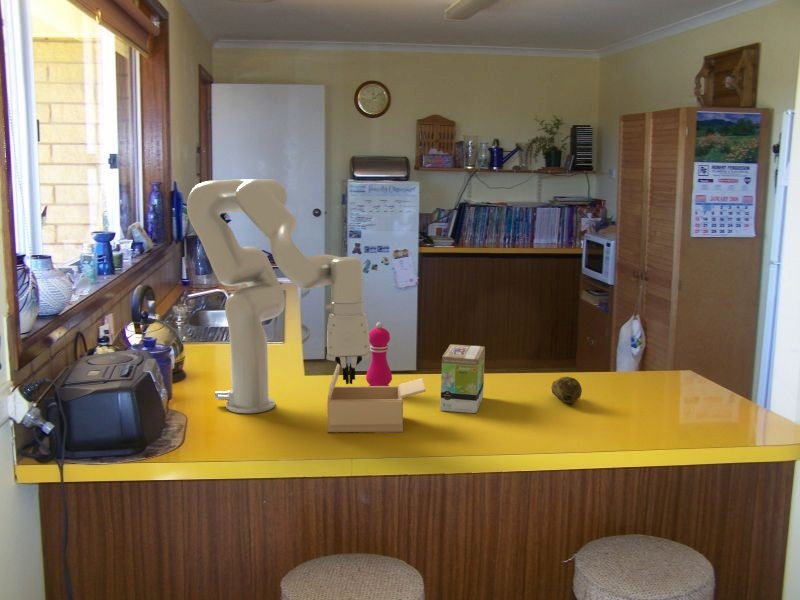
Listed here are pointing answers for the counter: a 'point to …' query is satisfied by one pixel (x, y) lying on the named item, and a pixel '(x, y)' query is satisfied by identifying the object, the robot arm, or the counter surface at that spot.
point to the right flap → (412, 388)
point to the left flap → (333, 380)
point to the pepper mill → (379, 357)
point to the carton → (365, 409)
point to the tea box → (462, 378)
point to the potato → (567, 389)
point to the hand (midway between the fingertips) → (349, 382)
